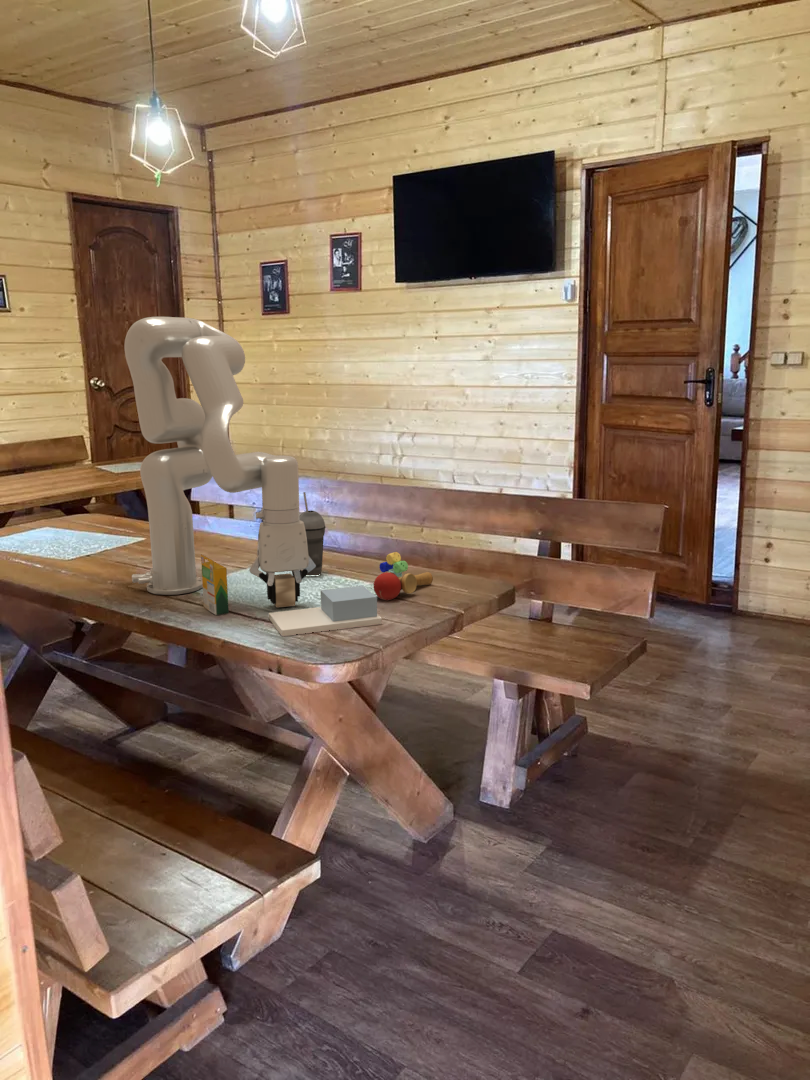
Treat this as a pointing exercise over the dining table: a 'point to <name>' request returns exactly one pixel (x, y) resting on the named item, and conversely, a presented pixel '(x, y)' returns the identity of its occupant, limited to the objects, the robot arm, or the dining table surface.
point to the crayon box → (214, 586)
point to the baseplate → (314, 621)
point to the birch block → (284, 590)
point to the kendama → (399, 584)
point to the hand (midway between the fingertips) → (283, 600)
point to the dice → (398, 564)
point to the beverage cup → (314, 536)
